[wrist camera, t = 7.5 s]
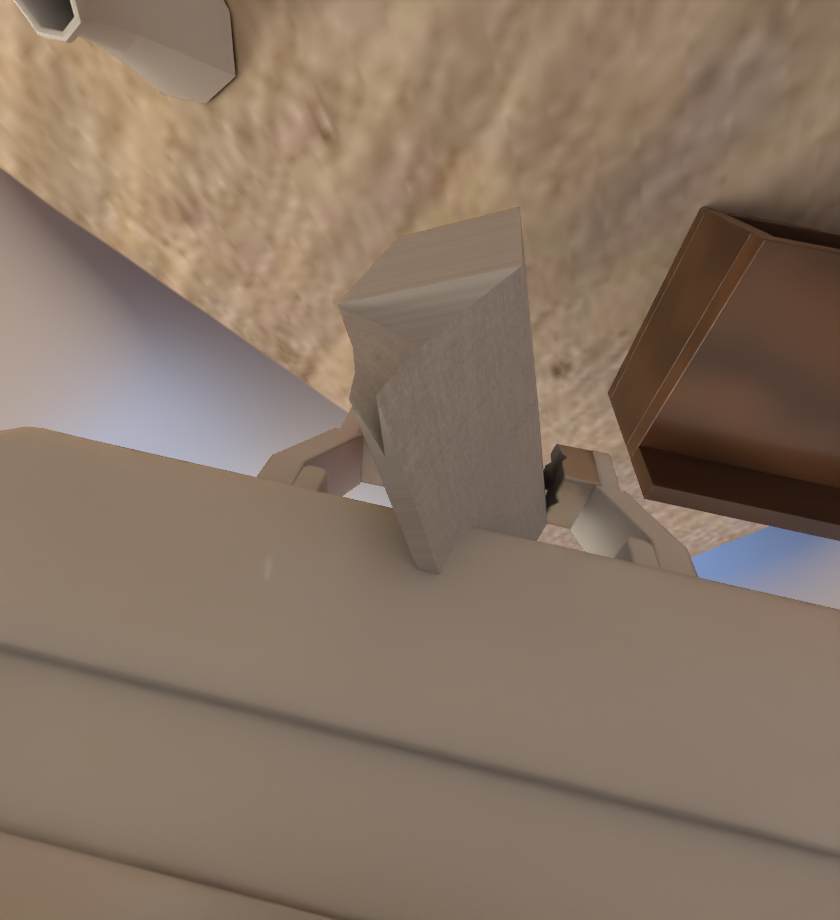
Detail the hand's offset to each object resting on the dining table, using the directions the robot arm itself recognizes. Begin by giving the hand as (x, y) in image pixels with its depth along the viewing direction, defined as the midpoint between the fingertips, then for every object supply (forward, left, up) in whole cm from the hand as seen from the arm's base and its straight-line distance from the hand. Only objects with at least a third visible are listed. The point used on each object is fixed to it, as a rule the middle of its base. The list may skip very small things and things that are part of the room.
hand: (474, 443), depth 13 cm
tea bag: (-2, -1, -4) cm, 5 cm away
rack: (+2, +22, -23) cm, 32 cm away
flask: (-9, -22, -24) cm, 33 cm away
